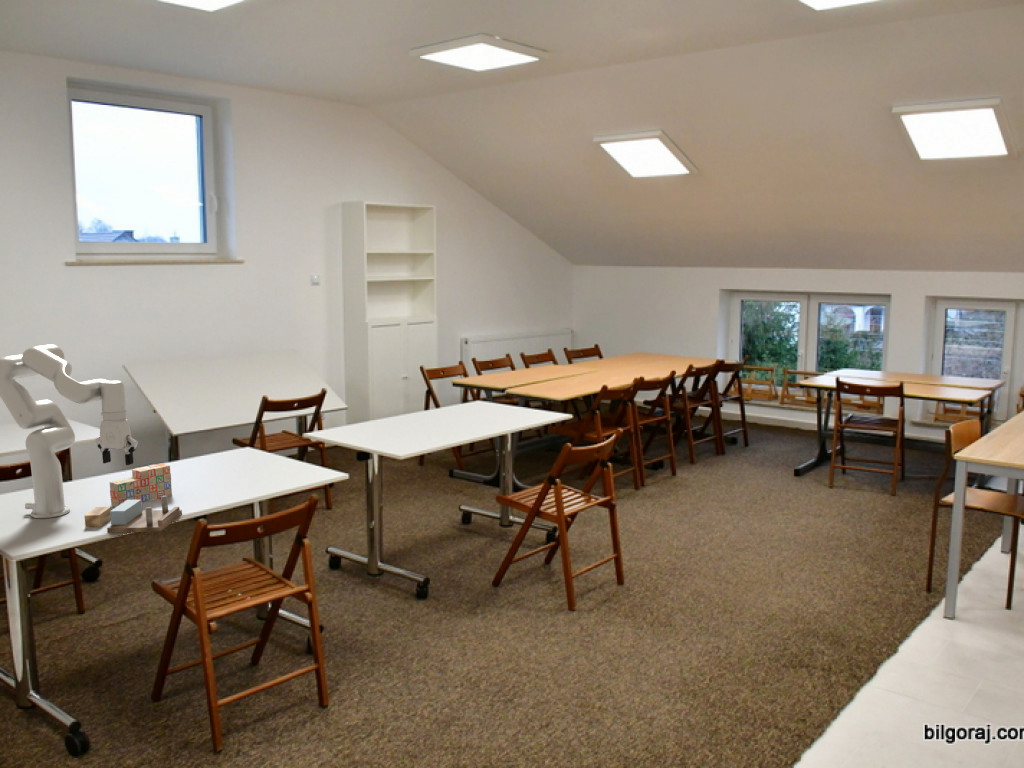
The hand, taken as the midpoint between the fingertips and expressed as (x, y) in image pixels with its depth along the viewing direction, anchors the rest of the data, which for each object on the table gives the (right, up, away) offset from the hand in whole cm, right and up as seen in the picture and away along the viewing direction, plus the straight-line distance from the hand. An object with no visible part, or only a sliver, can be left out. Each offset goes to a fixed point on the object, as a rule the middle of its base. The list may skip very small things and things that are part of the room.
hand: (118, 463), depth 304 cm
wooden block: (-7, -21, -1) cm, 22 cm away
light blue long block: (+4, -19, -2) cm, 20 cm away
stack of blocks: (-3, -17, +27) cm, 32 cm away
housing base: (+10, -21, -1) cm, 23 cm away
